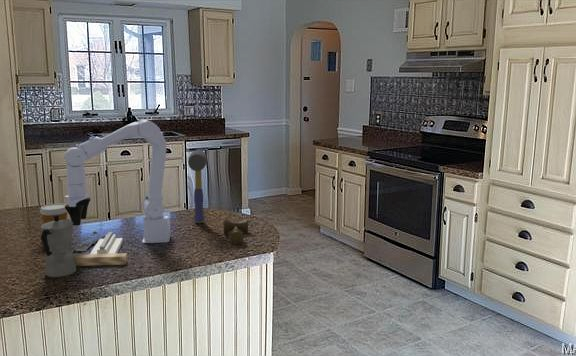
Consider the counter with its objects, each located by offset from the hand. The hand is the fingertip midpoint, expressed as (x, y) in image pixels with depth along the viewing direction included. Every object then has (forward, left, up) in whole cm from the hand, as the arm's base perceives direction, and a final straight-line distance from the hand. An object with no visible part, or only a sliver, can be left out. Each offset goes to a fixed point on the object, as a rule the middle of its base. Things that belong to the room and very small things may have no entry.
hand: (79, 221), depth 167 cm
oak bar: (-9, +15, -10) cm, 20 cm away
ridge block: (-9, +2, -10) cm, 13 cm away
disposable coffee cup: (+12, -14, -10) cm, 21 cm away
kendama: (-54, -8, -10) cm, 55 cm away
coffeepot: (+2, +21, -10) cm, 23 cm away
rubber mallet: (-40, -27, -10) cm, 49 cm away
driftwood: (-1, -7, -11) cm, 13 cm away
